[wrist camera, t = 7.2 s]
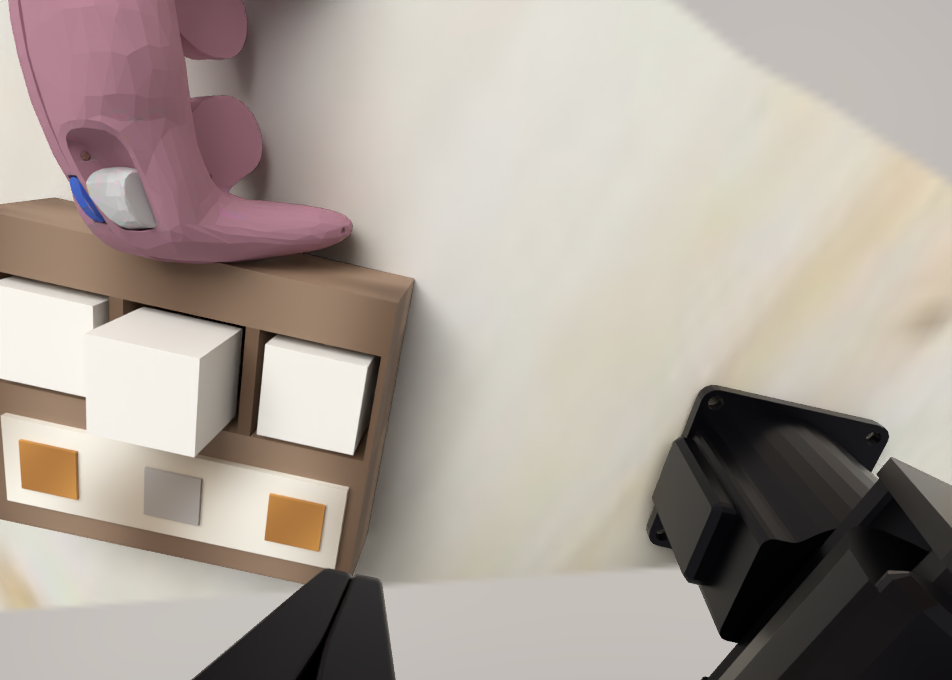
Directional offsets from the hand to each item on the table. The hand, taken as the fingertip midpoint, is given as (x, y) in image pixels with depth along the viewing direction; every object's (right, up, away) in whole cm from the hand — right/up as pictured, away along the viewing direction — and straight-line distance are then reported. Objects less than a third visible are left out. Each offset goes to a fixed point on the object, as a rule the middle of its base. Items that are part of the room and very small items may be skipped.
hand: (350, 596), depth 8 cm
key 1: (-11, +4, +11) cm, 16 cm away
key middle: (-7, +3, +9) cm, 12 cm away
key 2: (-3, +3, +11) cm, 12 cm away
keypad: (-7, +2, +12) cm, 14 cm away
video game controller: (-5, +11, +9) cm, 15 cm away
